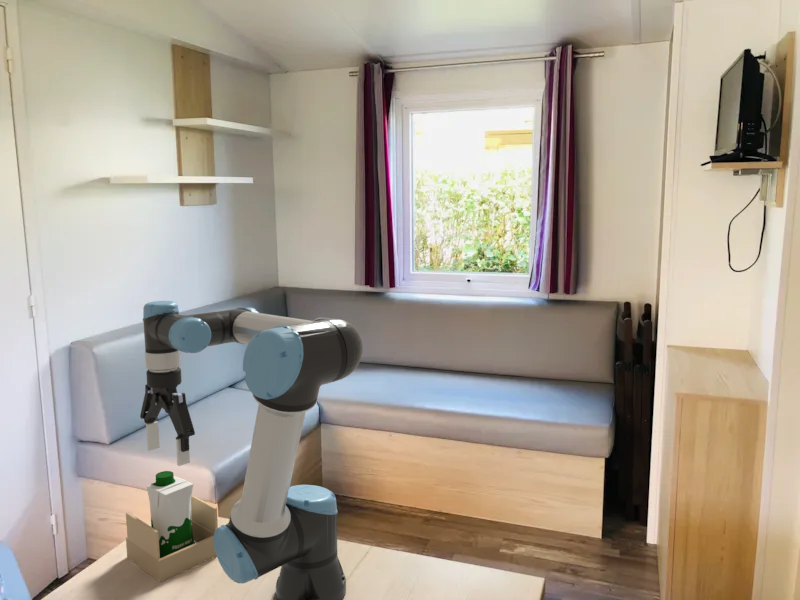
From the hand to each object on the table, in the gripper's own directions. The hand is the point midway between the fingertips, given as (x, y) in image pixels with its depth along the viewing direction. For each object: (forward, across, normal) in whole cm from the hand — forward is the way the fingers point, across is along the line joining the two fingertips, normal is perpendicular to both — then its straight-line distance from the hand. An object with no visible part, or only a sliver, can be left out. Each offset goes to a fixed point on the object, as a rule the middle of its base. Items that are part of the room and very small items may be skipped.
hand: (168, 456), depth 153 cm
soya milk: (+25, 0, 0) cm, 25 cm away
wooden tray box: (+25, 0, 0) cm, 25 cm away
